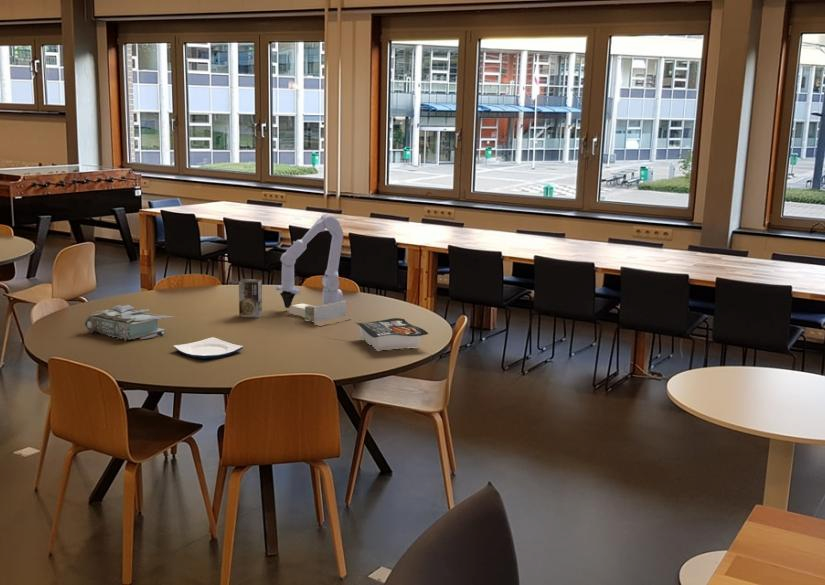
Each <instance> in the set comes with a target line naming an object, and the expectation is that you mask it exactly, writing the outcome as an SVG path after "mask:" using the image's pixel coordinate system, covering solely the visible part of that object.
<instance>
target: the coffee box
mask: <svg viewBox="0 0 825 585" xmlns="http://www.w3.org/2000/svg"><path fill="white" fill-rule="evenodd" d="M238 299H239V300H238V312H239V314H238V315H239V316H241V317H240V318H260V317H261V316H263V279H251V278H250V279H249V278H242V279H241V280H239V281H238ZM239 316H238V317H239Z"/></svg>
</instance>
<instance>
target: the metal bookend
mask: <svg viewBox="0 0 825 585" xmlns="http://www.w3.org/2000/svg"><path fill="white" fill-rule="evenodd" d="M315 306H316V307H314V323H315V324H316V323H319V322H323V321H327V320H331V319H335V318H339V317H344V316H346V317H347V300H343V301H340V302H336V303H331V304H326V305H322V304H321V305H318V306H317V305H315ZM314 323H313V324H314Z"/></svg>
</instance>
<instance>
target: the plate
mask: <svg viewBox="0 0 825 585" xmlns="http://www.w3.org/2000/svg"><path fill="white" fill-rule="evenodd" d="M172 346H173V347H172V348H174V349H175V350H177V351H178V352H179V353H181V354H184V355H186V356H188V357H191V356H192V358H196V359H201V360H202V359H203V360H204V359H206V360H207V359H208V358H209V359H216V358H217V359H218V358H222V357H226V356H229V355H232V354H234V353H236V352H239V351H241V350H242V349H243V348H244V345H239V344H234V343H230V342H228V341H225V340H223V339H220V338H217V337H213V336H212V337H209V338H205V339H202V340H197V341H194V342H188V343H184V344H175V345H172Z"/></svg>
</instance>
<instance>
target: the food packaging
mask: <svg viewBox="0 0 825 585" xmlns="http://www.w3.org/2000/svg"><path fill="white" fill-rule="evenodd" d="M356 325H358V326H359V332H360V339H361V340H362V339H363V340H365V341H364V342H368V343H367V345H368V344H369V345H372V346H371V347H372V348H373V347H374V350H375V349H376V350H386V349H396V348H408V347H418V348H419V346H420V342H421V339H422V338H421V337H422V336H426V335H429V332H427V331H426V330H425V329H423V328H422V327H419V326H417V325H416V326H415V325H414V324H410V323H409V322H408V321H406V319H405V318H400V317H398V318H397V317H395V318H394V317H393V318H388V319H383V320H376V321H369V322H356ZM369 345H368V346H369ZM376 350H375V351H376Z"/></svg>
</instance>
